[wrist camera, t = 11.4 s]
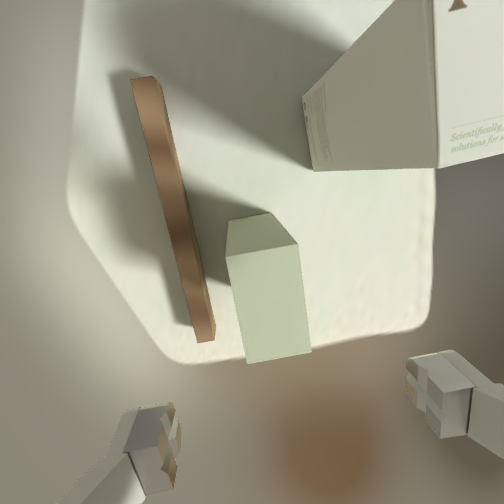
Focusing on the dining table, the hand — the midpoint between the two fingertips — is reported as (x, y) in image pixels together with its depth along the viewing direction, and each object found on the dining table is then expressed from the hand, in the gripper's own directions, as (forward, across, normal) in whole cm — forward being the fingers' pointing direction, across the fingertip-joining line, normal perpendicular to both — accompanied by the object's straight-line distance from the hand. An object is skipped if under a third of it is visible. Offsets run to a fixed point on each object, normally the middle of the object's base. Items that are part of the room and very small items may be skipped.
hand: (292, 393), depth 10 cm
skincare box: (+18, -10, -9) cm, 23 cm away
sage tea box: (+18, 0, +1) cm, 18 cm away
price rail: (+18, +6, -3) cm, 19 cm away
